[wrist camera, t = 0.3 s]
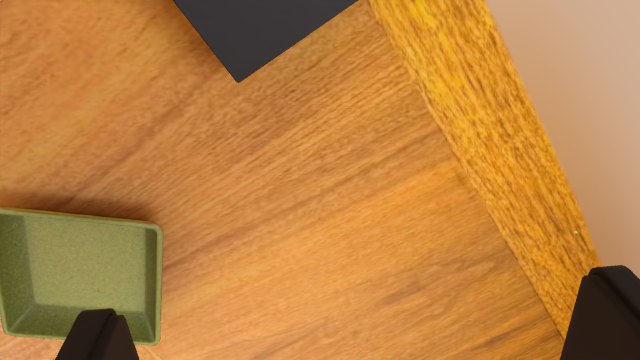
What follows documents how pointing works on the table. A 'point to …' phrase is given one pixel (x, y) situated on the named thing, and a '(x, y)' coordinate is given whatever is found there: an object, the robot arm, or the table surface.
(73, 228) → the green square tray
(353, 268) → the table surface
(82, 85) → the table surface
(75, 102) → the table surface
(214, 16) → the black square block
